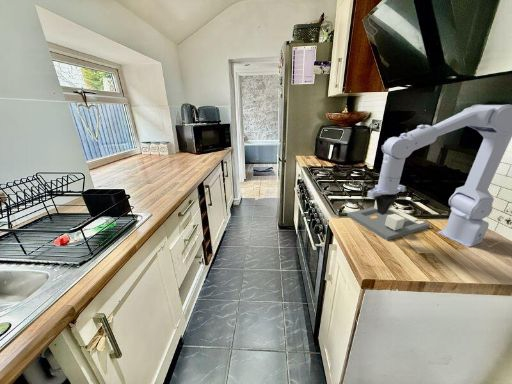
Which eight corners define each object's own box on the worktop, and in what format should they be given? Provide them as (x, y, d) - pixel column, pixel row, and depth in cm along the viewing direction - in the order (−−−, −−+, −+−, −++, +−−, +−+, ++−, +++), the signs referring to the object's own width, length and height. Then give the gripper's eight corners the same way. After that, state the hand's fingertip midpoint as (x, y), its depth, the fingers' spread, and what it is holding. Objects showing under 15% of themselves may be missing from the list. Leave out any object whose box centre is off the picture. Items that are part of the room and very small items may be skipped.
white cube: (402, 228, 78) (405, 218, 76) (394, 230, 77) (397, 220, 75) (392, 222, 81) (394, 213, 80) (384, 225, 80) (386, 215, 79)
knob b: (388, 210, 91) (390, 201, 89) (381, 211, 90) (383, 203, 88) (380, 206, 94) (382, 198, 93) (373, 208, 93) (375, 199, 92)
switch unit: (428, 227, 82) (430, 223, 81) (386, 240, 74) (388, 236, 74) (384, 207, 98) (385, 203, 97) (347, 216, 91) (347, 212, 90)
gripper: (394, 169, 74) (386, 205, 79) (362, 175, 70) (356, 212, 75) (415, 175, 68) (404, 213, 73) (381, 181, 63) (373, 221, 69)
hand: (381, 213), depth 74 cm, fingers closed
